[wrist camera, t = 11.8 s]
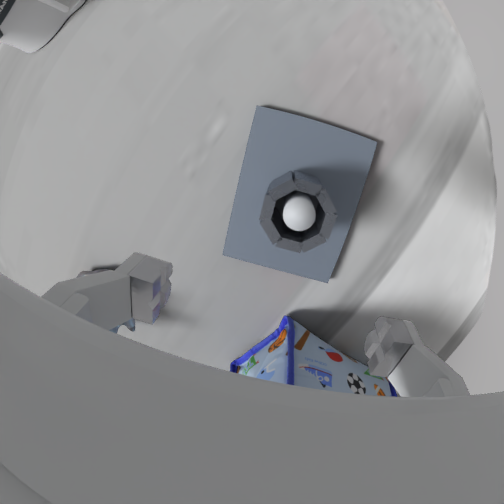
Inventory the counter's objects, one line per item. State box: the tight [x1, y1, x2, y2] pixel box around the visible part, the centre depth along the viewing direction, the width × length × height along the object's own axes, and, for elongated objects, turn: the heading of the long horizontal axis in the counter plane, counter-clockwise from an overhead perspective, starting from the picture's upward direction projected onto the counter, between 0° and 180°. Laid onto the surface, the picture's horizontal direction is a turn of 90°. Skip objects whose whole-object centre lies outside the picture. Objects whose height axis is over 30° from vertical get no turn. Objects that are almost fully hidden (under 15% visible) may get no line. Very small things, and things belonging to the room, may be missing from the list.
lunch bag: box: [230, 316, 397, 397], centre depth 24 cm, size 23×17×27 cm
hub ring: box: [259, 170, 337, 253], centre depth 23 cm, size 6×6×5 cm
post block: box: [223, 106, 377, 283], centre depth 24 cm, size 16×12×6 cm
